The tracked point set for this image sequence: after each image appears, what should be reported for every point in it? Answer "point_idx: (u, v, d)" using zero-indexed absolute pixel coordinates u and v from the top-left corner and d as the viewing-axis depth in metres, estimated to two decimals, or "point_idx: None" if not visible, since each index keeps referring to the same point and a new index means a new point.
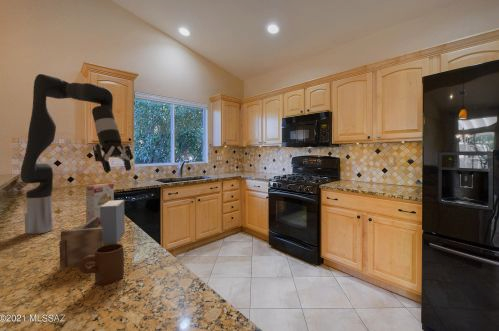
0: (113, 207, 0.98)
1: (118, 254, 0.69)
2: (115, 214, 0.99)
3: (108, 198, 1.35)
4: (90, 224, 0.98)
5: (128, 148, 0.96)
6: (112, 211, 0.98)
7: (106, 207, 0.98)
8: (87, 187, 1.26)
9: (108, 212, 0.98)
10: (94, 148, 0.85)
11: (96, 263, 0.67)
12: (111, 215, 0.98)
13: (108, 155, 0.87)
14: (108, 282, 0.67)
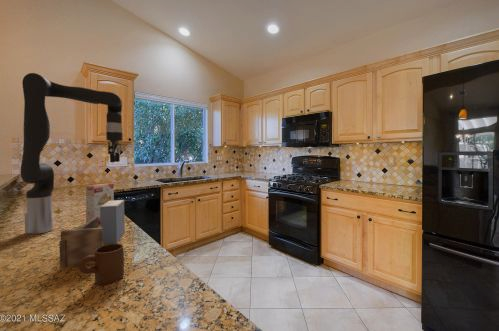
0: (113, 207, 0.98)
1: (118, 254, 0.69)
2: (115, 214, 0.99)
3: (108, 198, 1.35)
4: (90, 224, 0.98)
5: (120, 145, 1.31)
6: (112, 211, 0.98)
7: (106, 207, 0.98)
8: (87, 187, 1.26)
9: (108, 212, 0.98)
10: (110, 144, 1.18)
11: (96, 263, 0.67)
12: (111, 215, 0.98)
13: (115, 151, 1.22)
14: (108, 282, 0.67)
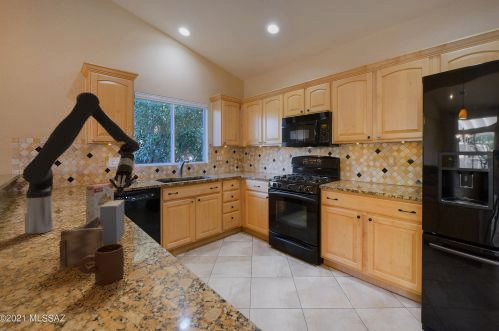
0: (113, 207, 0.98)
1: (118, 254, 0.69)
2: (115, 214, 0.99)
3: (108, 198, 1.35)
4: (90, 224, 0.98)
5: None
6: (112, 211, 0.98)
7: (106, 207, 0.98)
8: (87, 187, 1.26)
9: (108, 212, 0.98)
10: (133, 180, 1.23)
11: (96, 263, 0.67)
12: (111, 215, 0.98)
13: None
14: (108, 282, 0.67)
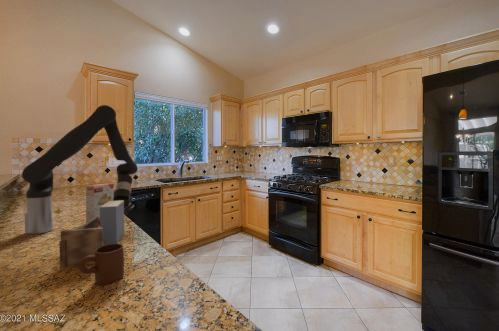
0: (113, 208, 0.97)
1: (118, 254, 0.69)
2: (115, 215, 0.98)
3: (108, 198, 1.35)
4: (90, 224, 0.98)
5: None
6: (112, 212, 0.97)
7: (106, 208, 0.96)
8: (87, 187, 1.26)
9: (108, 213, 0.97)
10: (132, 206, 1.17)
11: (96, 263, 0.67)
12: (111, 216, 0.97)
13: None
14: (108, 282, 0.67)
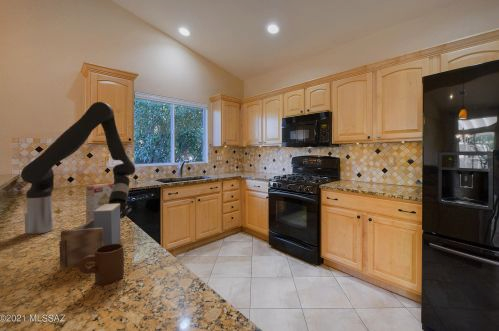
0: (108, 212, 0.90)
1: (118, 254, 0.69)
2: (110, 219, 0.90)
3: (108, 198, 1.35)
4: (90, 224, 0.98)
5: None
6: (107, 216, 0.90)
7: (100, 212, 0.89)
8: (87, 187, 1.26)
9: (102, 217, 0.90)
10: (129, 209, 1.10)
11: (96, 263, 0.67)
12: (106, 220, 0.90)
13: None
14: (108, 282, 0.67)
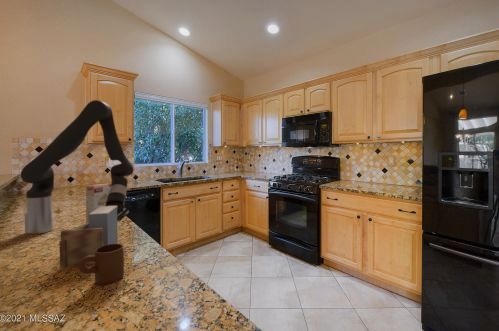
0: (104, 215, 0.86)
1: (118, 254, 0.69)
2: (106, 223, 0.86)
3: None
4: None
5: None
6: (102, 219, 0.86)
7: (95, 215, 0.85)
8: (87, 187, 1.26)
9: (98, 220, 0.85)
10: (127, 212, 1.06)
11: (96, 263, 0.67)
12: (101, 224, 0.85)
13: None
14: (108, 282, 0.67)
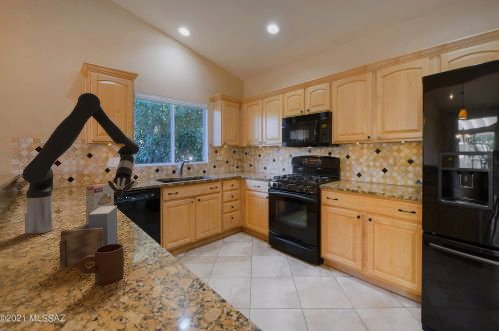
0: (104, 215, 0.86)
1: (118, 254, 0.69)
2: (106, 223, 0.86)
3: (108, 198, 1.35)
4: None
5: None
6: (102, 219, 0.85)
7: (95, 215, 0.85)
8: (87, 187, 1.26)
9: (98, 221, 0.85)
10: (133, 183, 1.21)
11: (96, 263, 0.67)
12: (101, 224, 0.85)
13: None
14: (108, 282, 0.67)
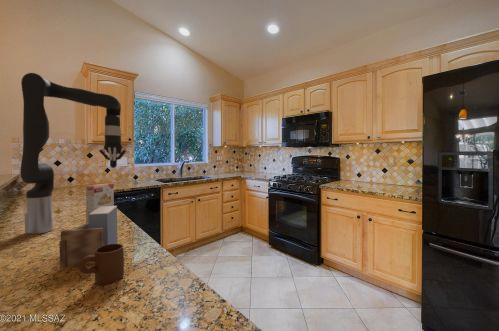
0: (104, 215, 0.86)
1: (118, 254, 0.69)
2: (106, 223, 0.86)
3: (108, 198, 1.35)
4: None
5: None
6: (102, 219, 0.85)
7: (95, 215, 0.85)
8: (87, 187, 1.26)
9: (98, 221, 0.85)
10: (124, 152, 1.24)
11: (96, 263, 0.67)
12: (101, 224, 0.85)
13: None
14: (108, 282, 0.67)
